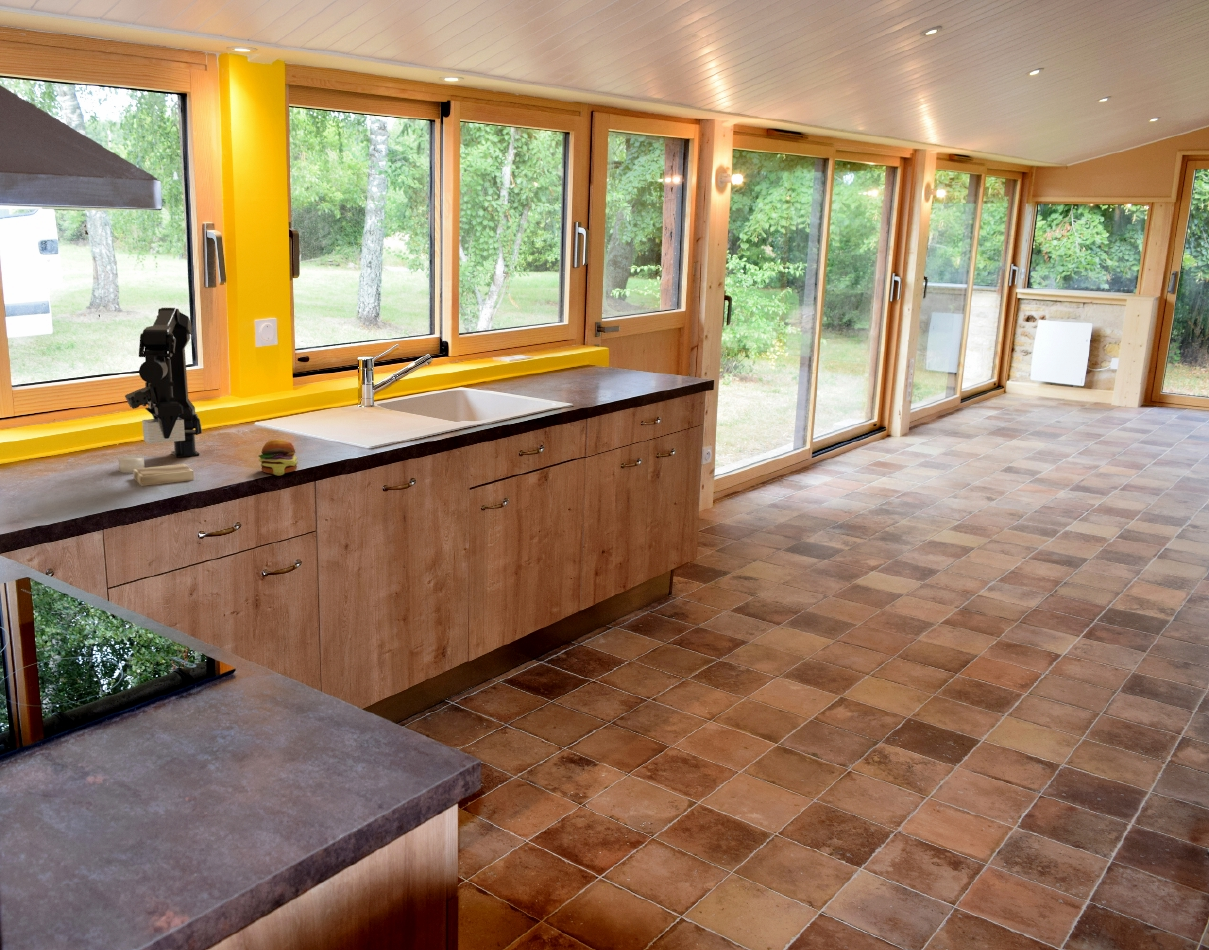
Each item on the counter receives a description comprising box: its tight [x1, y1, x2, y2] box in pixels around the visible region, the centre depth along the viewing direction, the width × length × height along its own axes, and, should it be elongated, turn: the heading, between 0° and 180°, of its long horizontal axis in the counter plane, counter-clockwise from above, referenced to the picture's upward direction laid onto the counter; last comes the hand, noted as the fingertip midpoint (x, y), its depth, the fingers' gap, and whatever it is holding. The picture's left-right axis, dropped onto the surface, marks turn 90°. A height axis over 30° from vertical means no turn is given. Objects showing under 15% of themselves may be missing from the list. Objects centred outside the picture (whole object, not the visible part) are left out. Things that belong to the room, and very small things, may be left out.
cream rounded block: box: [117, 455, 146, 474], centre depth 291 cm, size 6×6×4 cm
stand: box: [132, 463, 195, 487], centre depth 283 cm, size 9×13×3 cm
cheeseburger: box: [258, 438, 298, 476], centre depth 295 cm, size 10×11×10 cm
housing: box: [142, 417, 185, 445], centre depth 281 cm, size 5×9×6 cm, turn 128°
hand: (164, 436), depth 281 cm, fingers closed on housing, 5 cm apart
